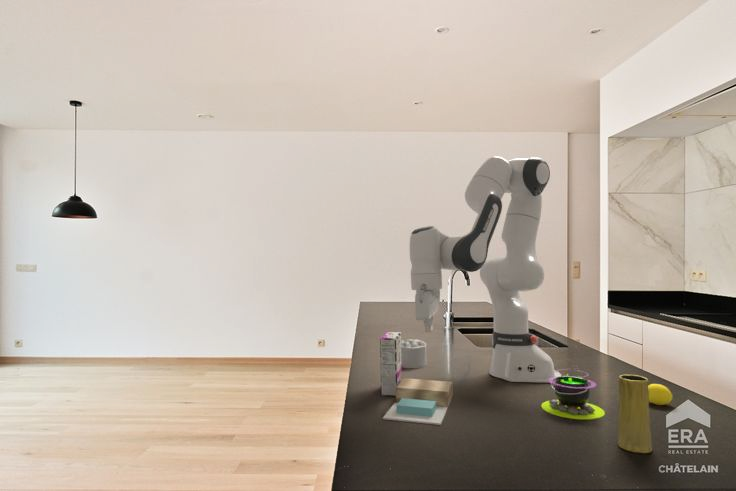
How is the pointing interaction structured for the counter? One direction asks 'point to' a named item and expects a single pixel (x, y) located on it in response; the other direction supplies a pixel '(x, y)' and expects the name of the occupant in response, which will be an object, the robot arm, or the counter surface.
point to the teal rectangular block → (416, 407)
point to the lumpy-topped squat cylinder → (413, 353)
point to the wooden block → (425, 391)
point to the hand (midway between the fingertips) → (428, 331)
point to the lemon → (659, 394)
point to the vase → (634, 414)
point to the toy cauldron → (572, 399)
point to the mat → (416, 416)
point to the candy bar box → (390, 362)
